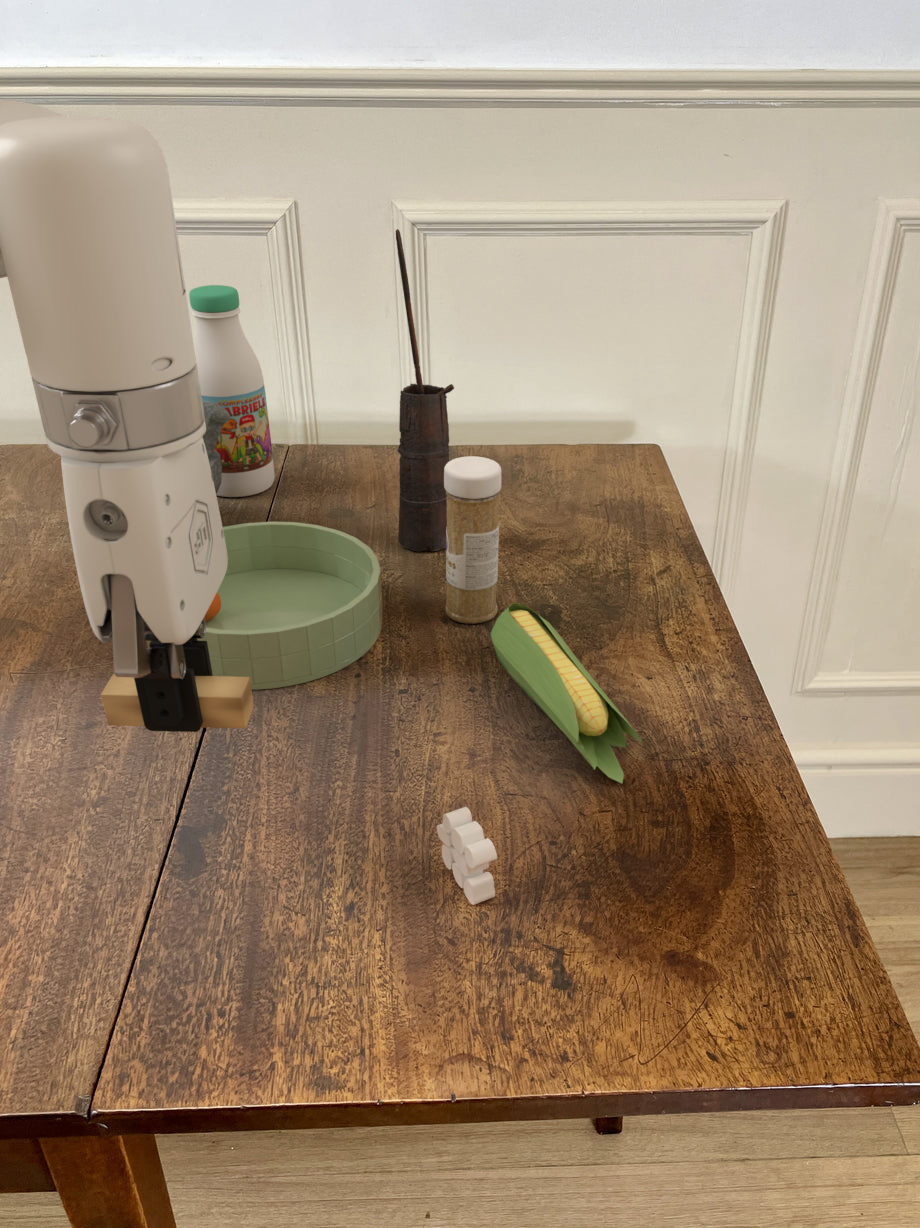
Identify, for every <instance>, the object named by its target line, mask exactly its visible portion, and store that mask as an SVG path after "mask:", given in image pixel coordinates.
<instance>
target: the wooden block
mask: <svg viewBox="0 0 920 1228" xmlns="http://www.w3.org/2000/svg"><path fill="white" fill-rule="evenodd" d="M195 681H196V686H197V692H198V698H199V703H200V709H201V714H202V720H203V724H202V726H201V728H202V729H203V728H205V729H208V728H209V729H247V726H248V725H249V720H250V718H251V716H252V713H253V710H254V707H255V704H254V697H253V690H251V683H250V677H234V676H195ZM100 697H101V701H102V706H103V710H104V714H105V718H106V722H107V726H109V727H111V726H112V727H114V726H115V727H145V726H144V721H143V717H142V712H141V707H140V703H139V698H138V694H137V689H136V684H135V680H134V678H132V677H116V676H115V673H113V674H112V675H111V677H110V678H109V680H108V681H107V683H106V685H105V687H104V689H103V690H102V691H101V694H100ZM201 728H200V729H201Z"/></svg>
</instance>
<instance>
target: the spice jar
mask: <svg viewBox="0 0 920 1228" xmlns="http://www.w3.org/2000/svg"><path fill="white" fill-rule="evenodd" d="M444 488H445V490H446V495H447V527H446V548H445V578H446V603H445V613H446V615H447V616H448V618H451V619H452V620H453V621H455V622H458V623H461V624H467V625H468V624H480V623H486V622H488V621H491V620H492V619H494V618H495V616H496V615H497V614H498V605H497V582H498V578H499V575H498V573H499V547H500V545H499V543H500V541H499V540H500V522H499V515H500V514H499V507H500V506H499V505H500V495H501V489H502V467H501V465H500V463H498V462H497V461H495V460H494V459H491V458H488V457H483V456H477V455H472V456H461V457H456V458H453V459H451V460H449V462H448V463H447V464H446V465H445V468H444Z"/></svg>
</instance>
